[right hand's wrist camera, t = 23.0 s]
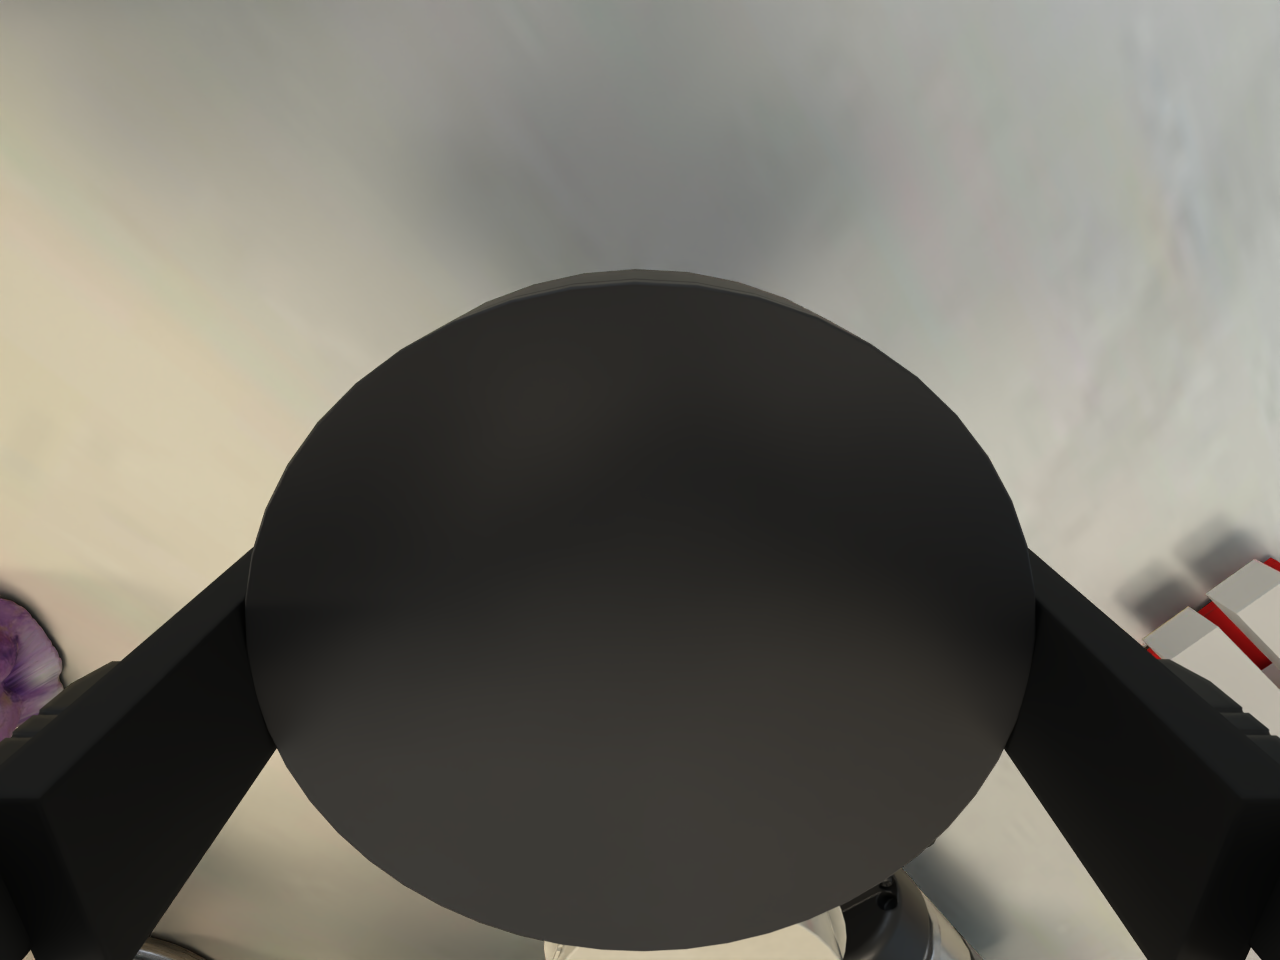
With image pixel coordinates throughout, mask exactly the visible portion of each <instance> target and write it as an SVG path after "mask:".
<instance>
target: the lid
mask: <svg viewBox="0 0 1280 960" xmlns="http://www.w3.org/2000/svg"><path fill="white" fill-rule="evenodd" d="M245 625H246V648H247V654H248V660H249V664H250V669H251V673H252V678H253V682H254V687H255V691H256V694H257V698H258V702H259V706H260V709H261V712H262V715H263V718H264V720H265V723H266V726H267V729H268V731H269V733H270V735H271V737H272V739H273V741H274V743H275V745H276V747H277V749H278V751H279V753H280V755H281V757H282V759H283V761H284V763H285V765H286V767H287V768H288V770H289V771H290V773H291V774H292V776H293V777H294V778H295V780H296V781H297V783H298V784H299V786H300V787H301V789H302V790H303V792H304V793H305V795H306V796H307V798H308V799H309V800H310V802H311V803H312V804H313V805H314V806H315V807H316V809H317V810H318V811H319V812H320V813H321V814H322V815H323V816H324V818H325V819H326V820H327V821H328V822H329V823H330V824H331V825H332V827H333V828H334V829H335V830H336V831H337V832H338V833H339V834H340V835H341V836H342V837H343V838H344V839H346V840H347V841H348V842H349V843H350V844H351V845H352V846H353V847H355V848H356V849H357V850H358V851H359V852H360V853H361V854H362V855H363V856H365V857H366V858H367V859H368V860H369V861H370V862H372V863H373V864H375V865H376V866H378V867H379V868H380V869H382V870H383V871H385V872H386V873H387V874H389V875H390V876H392V877H393V878H394V879H396V880H397V881H399V882H400V883H402V884H403V885H405V886H406V887H408V888H410V889H412V890H413V891H415V892H417V893H419V894H421V895H422V896H424V897H426V898H428V899H430V900H431V901H433V902H435V903H437V904H438V905H440V906H443V907H445V908H447V909H449V910H452V911H454V912H456V913H459V914H461V915H463V916H465V917H468V918H470V919H472V920H475V921H477V922H479V923H483V924H486V925H489V926H492V927H495V928H498V929H501V930H504V931H507V932H510V933H513V934H516V935H520V936H524V937H529V938H533V939H538V940H542V941H547V942H551V943H556V944H560V945H568V946H576V947H583V948H591V949H599V950H619V951H662V950H681V949H691V948H698V947H705V946H712V945H719V944H726V943H731V942H735V941H739V940H744V939H748V938H752V937H756V936H760V935H764V934H769V933H772V932H775V931H777V930H780V929H783V928H786V927H789V926H792V925H795V924H798V923H801V922H804V921H807V920H809V919H812V918H814V917H816V916H818V915H820V914H823V913H825V912H827V911H829V910H831V909H834V908H836V907H838V906H840V905H842V904H845V903H847V902H849V901H850V900H852V899H854V898H855V897H857V896H859V895H861V894H862V893H864V892H866V891H867V890H869V889H871V888H873V887H874V886H876V885H878V884H879V883H881V882H883V881H884V880H886V879H887V878H888V877H890V876H891V875H892V874H894V873H895V872H897V871H898V870H899V869H901V868H902V867H903V866H905V865H906V864H907V863H909V862H910V861H911V860H913V859H914V858H916V857H917V856H918V855H919V854H920V853H921V852H922V851H923V850H925V849H926V848H927V847H928V846H929V845H930V844H931V843H932V842H933V841H934V840H935V839H936V838H937V837H939V836H940V835H941V834H942V833H943V832H944V831H945V830H946V829H947V828H948V827H949V826H950V825H951V824H952V822H953V821H954V820H955V819H956V818H957V817H958V815H959V814H960V813H961V812H962V811H963V809H964V808H965V807H966V806H967V805H968V804H969V802H970V801H971V800H972V799H973V798H974V797H975V795H976V794H977V792H978V791H979V789H980V788H981V786H982V785H983V783H984V781H985V780H986V778H987V777H988V775H989V774H990V772H991V771H992V769H993V768H994V766H995V765H996V763H997V761H998V760H999V758H1000V756H1001V753H1002V751H1003V749H1004V747H1005V745H1006V743H1007V741H1008V739H1009V737H1010V734H1011V732H1012V730H1013V728H1014V726H1015V724H1016V722H1017V719H1018V715H1019V712H1020V709H1021V705H1022V701H1023V697H1024V694H1025V690H1026V686H1027V682H1028V678H1029V673H1030V668H1031V664H1032V658H1033V652H1034V645H1035V638H1036V620H1035V588H1034V582H1033V576H1032V570H1031V564H1030V558H1029V553H1028V547H1027V543H1026V540H1025V538H1024V535H1023V532H1022V529H1021V526H1020V523H1019V520H1018V517H1017V514H1016V511H1015V508H1014V505H1013V502H1012V500H1011V498H1010V496H1009V494H1008V492H1007V491H1006V489H1005V487H1004V485H1003V483H1002V481H1001V479H1000V477H999V476H998V474H997V472H996V470H995V468H994V466H993V464H992V462H991V461H990V459H989V457H988V455H987V454H986V453H985V452H984V450H983V449H982V448H981V446H980V445H979V444H978V442H977V441H976V440H975V438H974V437H973V436H972V434H971V433H970V432H969V430H968V429H967V428H966V426H965V425H964V424H963V423H962V421H961V420H960V419H959V417H958V416H957V415H956V414H955V413H954V412H953V411H952V410H951V409H950V408H949V407H948V406H947V405H946V404H945V403H944V402H943V401H942V400H941V399H940V398H939V397H938V396H937V395H936V394H934V393H933V392H932V391H931V390H930V389H929V388H928V387H927V386H926V385H925V384H924V383H923V382H922V381H921V380H920V379H919V378H918V377H917V376H915V375H914V374H912V373H911V372H910V371H908V370H907V369H905V368H904V367H903V366H901V365H900V364H898V363H897V362H896V361H894V360H893V359H891V358H890V357H888V356H887V355H886V354H884V353H883V352H881V351H880V350H879V349H877V348H876V347H874V346H873V345H872V344H870V343H868V342H866V341H865V340H863V339H861V338H859V337H858V336H856V335H854V334H852V333H850V332H849V331H847V330H845V329H843V328H842V327H840V326H838V325H836V324H834V323H833V322H831V321H829V320H827V319H825V318H823V317H821V316H819V315H817V314H815V313H813V312H811V311H809V310H807V309H806V308H804V307H802V306H800V305H798V304H796V303H794V302H792V301H790V300H788V299H786V298H783V297H780V296H777V295H774V294H771V293H769V292H766V291H763V290H760V289H757V288H754V287H751V286H748V285H745V284H742V283H739V282H736V281H730V280H725V279H720V278H715V277H710V276H705V275H700V274H694V273H689V272H676V271H658V270H641V269H632V270H620V271H607V272H595V273H584V274H579V275H574V276H570V277H565V278H561V279H556V280H552V281H547V282H543V283H538V284H534V285H531V286H528V287H526V288H523V289H520V290H518V291H515V292H512V293H510V294H507V295H504V296H502V297H499V298H496V299H494V300H491V301H488V302H486V303H484V304H482V305H480V306H479V307H477V308H475V309H473V310H471V311H469V312H467V313H466V314H464V315H462V316H460V317H458V318H456V319H455V320H453V321H451V322H449V323H447V324H445V325H444V326H442V327H440V328H438V329H436V330H435V331H433V332H431V333H429V334H428V335H426V336H424V337H422V338H420V339H419V340H417V341H415V342H413V343H412V344H410V345H408V346H406V347H404V348H403V349H401V350H400V351H398V352H397V353H396V354H394V355H393V356H392V357H390V358H389V359H388V360H386V361H385V362H384V363H382V364H381V365H380V366H378V367H377V368H376V369H374V370H373V371H372V372H370V373H369V374H368V375H366V376H365V377H364V378H362V379H361V380H360V381H358V382H357V383H356V384H355V385H354V386H353V387H352V388H351V389H350V390H349V391H348V392H347V393H346V394H345V395H344V396H343V397H342V398H341V399H340V400H339V401H338V402H337V403H336V404H335V405H334V406H333V407H332V408H331V409H330V410H329V411H328V412H327V413H326V414H325V415H324V416H323V417H322V418H321V419H320V420H319V421H318V422H317V424H316V425H315V427H314V428H313V429H312V431H311V432H310V434H309V435H308V436H307V438H306V439H305V441H304V442H303V443H302V445H301V446H300V448H299V449H298V450H297V452H296V453H295V455H294V456H293V457H292V459H291V460H290V462H289V463H288V465H287V467H286V469H285V471H284V473H283V475H282V477H281V479H280V481H279V483H278V485H277V487H276V489H275V491H274V493H273V495H272V497H271V499H270V501H269V503H268V505H267V507H266V509H265V512H264V515H263V519H262V522H261V525H260V528H259V532H258V535H257V538H256V541H255V544H254V548H253V551H252V554H251V561H250V568H249V575H248V583H247V590H246V597H245Z"/></svg>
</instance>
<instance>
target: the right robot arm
mask: <svg viewBox="0 0 1280 960" xmlns="http://www.w3.org/2000/svg"><path fill="white" fill-rule="evenodd" d="M253 548H254V547H253ZM253 548H252V549H251V550H249V551H248V552H247V553H246V554H245V555H244V556H242V557H241V558H240V559H239V560H238V561H237V562H235V563H234V564H233V565H232V566H231V567H230V568H229V569H227V570H226V571H225V572H224V573H223V574H222V575H220V576H219V577H218V578H217V579H216V580H215V581H213V582H212V583H211V584H210V585H209V586H208V587H206V588H205V589H204V590H203V591H202V592H201V593H199V594H198V595H197V596H196V597H195V598H194V599H192V600H191V601H190V602H189V603H188V604H187V605H186V606H184V607H183V608H182V609H181V610H180V611H179V612H177V613H176V614H175V615H174V616H173V617H172V618H170V619H169V620H168V621H167V622H166V623H165V624H163V625H162V626H161V627H160V628H159V629H158V630H156V631H155V632H154V633H153V634H152V635H151V636H150V637H148V638H147V639H146V640H145V641H144V642H143V643H141V644H140V645H139V646H138V647H137V648H136V649H134V650H133V651H132V652H131V653H130V654H129V655H127V656H126V657H125V658H124V659H123V660H122V661H112V662H110V663H108V664H106V665H104V666H103V667H101V668H99V669H97V670H95V671H93V672H91V673H90V674H88V675H86V676H84V677H82V678H80V679H79V680H77V681H75V682H73V683H71V684H70V685H69V686H67V687H66V688H65V689H64V690H63V691H61V692H60V693H59V694H58V695H57V696H55V697H54V698H53V699H52V700H50V701H49V702H48V703H47V704H46V705H44V706H43V707H42V708H41V709H40V710H39V714H38V715H32V716H31V717H30V718H29V719H27V720H26V721H25V722H24V723H23V724H21V725H20V726H19V727H18V728H17V729H15V730H14V731H13V732H12V737H11V738H4V739H3V740H2V741H1V742H0V960H22V959H23V958H24V957H25V956H26V955H27V953H28V952H29V951H30V950H31V951H32V953H33V955H34V958H35V960H133V959H134V957H135V956H136V954H137V953H138V951H139V950H140V948H141V947H142V946H143V944H144V943H145V941H146V940H147V938H148V937H149V935H150V934H151V932H152V931H153V929H154V928H155V926H156V925H157V923H158V922H159V921H160V919H161V918H162V916H163V915H164V913H165V912H166V910H167V909H168V907H169V906H170V904H171V903H172V901H173V900H174V898H175V897H176V896H177V894H178V893H179V891H180V890H181V888H182V887H183V885H184V884H185V882H186V881H187V879H188V878H189V876H190V875H191V873H192V872H193V871H194V869H195V868H196V866H197V865H198V863H199V862H200V860H201V859H202V857H203V856H204V854H205V853H206V851H207V850H208V848H209V847H210V846H211V844H212V843H213V841H214V840H215V838H216V837H217V835H218V834H219V832H220V831H221V829H222V828H223V826H224V825H225V823H226V822H227V821H228V819H229V818H230V816H231V815H232V813H233V812H234V810H235V809H236V807H237V806H238V804H239V803H240V801H241V800H242V798H243V797H244V796H245V794H246V793H247V791H248V790H249V788H250V787H251V785H252V784H253V782H254V781H255V779H256V778H257V776H258V775H259V773H260V772H261V771H262V769H263V768H264V766H265V765H266V763H267V762H268V760H269V759H270V757H271V756H272V754H273V753H274V751H275V750H276V749H277V747H276V745H275V743H274V741H273V739H272V737H271V735H270V733H269V731H268V729H267V726H266V723H265V720H264V718H263V715H262V712H261V709H260V706H259V702H258V698H257V694H256V691H255V687H254V682H253V678H252V673H251V669H250V664H249V660H248V654H247V648H246V625H245V597H246V590H247V583H248V575H249V568H250V561H251V554H252V551H253ZM1028 553H1029V558H1030V564H1031V570H1032V576H1033V582H1034V588H1035V620H1036V638H1035V645H1034V652H1033V658H1032V664H1031V668H1030V673H1029V678H1028V682H1027V686H1026V690H1025V694H1024V697H1023V701H1022V705H1021V709H1020V712H1019V715H1018V719H1017V722H1016V724H1015V726H1014V728H1013V730H1012V732H1011V734H1010V737H1009V739H1008V741H1007V743H1006V745H1005V747H1004V749H1005V751H1006V752H1007V754H1008V755H1009V757H1010V758H1011V760H1012V761H1013V763H1014V764H1015V765H1016V767H1017V768H1018V770H1019V771H1020V773H1021V774H1022V776H1023V777H1024V779H1025V780H1026V782H1027V783H1028V785H1029V786H1030V788H1031V789H1032V790H1033V792H1034V793H1035V795H1036V796H1037V798H1038V799H1039V801H1040V802H1041V804H1042V805H1043V807H1044V808H1045V810H1046V811H1047V813H1048V814H1049V815H1050V817H1051V818H1052V820H1053V821H1054V823H1055V824H1056V826H1057V827H1058V829H1059V830H1060V832H1061V833H1062V835H1063V836H1064V838H1065V839H1066V840H1067V842H1068V843H1069V845H1070V846H1071V848H1072V849H1073V851H1074V852H1075V854H1076V855H1077V857H1078V858H1079V860H1080V861H1081V863H1082V864H1083V865H1084V867H1085V868H1086V870H1087V871H1088V873H1089V874H1090V876H1091V877H1092V879H1093V880H1094V882H1095V883H1096V885H1097V886H1098V887H1099V889H1100V890H1101V892H1102V893H1103V895H1104V896H1105V898H1106V899H1107V901H1108V902H1109V904H1110V905H1111V907H1112V908H1113V910H1114V911H1115V912H1116V914H1117V915H1118V917H1119V918H1120V920H1121V921H1122V923H1123V924H1124V926H1125V927H1126V929H1127V930H1128V932H1129V933H1130V935H1131V936H1132V937H1133V939H1134V940H1135V942H1136V943H1137V945H1138V946H1139V948H1140V949H1141V951H1142V952H1143V954H1144V955H1145V957H1146V958H1147V960H1245V959H1246V957H1247V955H1248V953H1249V950H1250V948H1252V949H1253V950H1254V951H1255V952H1256V954H1257V955H1258V956H1259V957H1260V958H1261V960H1280V738H1279V737H1278V736H1277V735H1271V734H1270V732H1269V729H1268V728H1267V727H1266V726H1265V725H1263V724H1262V723H1261V722H1260V721H1258V720H1257V719H1256V718H1255V717H1254V716H1252V715H1251V714H1250V713H1244V712H1243V710H1242V707H1241V706H1240V705H1239V704H1238V703H1236V702H1235V701H1234V700H1233V699H1232V698H1230V697H1229V696H1228V695H1227V694H1225V693H1224V692H1223V691H1222V690H1221V689H1219V688H1218V687H1217V686H1216V685H1214V684H1213V683H1212V682H1211V681H1209V680H1207V679H1205V678H1204V677H1202V676H1200V675H1198V674H1196V673H1194V672H1192V671H1191V670H1189V669H1187V668H1185V667H1183V666H1181V665H1179V664H1178V663H1176V662H1174V661H1172V660H1170V659H1157V658H1155V657H1154V656H1153V655H1152V654H1151V653H1150V652H1148V651H1147V650H1146V649H1145V648H1144V647H1143V646H1141V645H1140V644H1139V643H1138V642H1137V641H1136V640H1134V639H1133V638H1132V637H1131V636H1130V635H1129V634H1128V633H1126V632H1125V631H1124V630H1123V629H1122V628H1121V627H1119V626H1118V625H1117V624H1116V623H1115V622H1114V621H1112V620H1111V619H1110V618H1109V617H1108V616H1107V615H1105V614H1104V613H1103V612H1102V611H1101V610H1100V609H1098V608H1097V607H1096V606H1095V605H1094V604H1093V603H1091V602H1090V601H1089V600H1088V599H1087V598H1086V597H1085V596H1083V595H1082V594H1081V593H1080V592H1079V591H1078V590H1076V589H1075V588H1074V587H1073V586H1072V585H1071V584H1069V583H1068V582H1067V581H1066V580H1065V579H1064V578H1062V577H1061V576H1060V575H1059V574H1058V573H1057V572H1055V571H1054V570H1053V569H1052V568H1051V567H1050V566H1048V565H1047V564H1046V563H1045V562H1044V561H1043V560H1042V559H1040V558H1039V557H1038V556H1037V555H1036V554H1035V553H1033V552H1032V551H1031V550H1030V549H1029V548H1028Z"/></svg>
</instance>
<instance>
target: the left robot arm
mask: <svg viewBox="0 0 1280 960" xmlns="http://www.w3.org/2000/svg"><path fill="white" fill-rule="evenodd" d="M935 840H936V839H935ZM935 840H934V841H933V842H932V843H931V844H930V845H929V846H928V847H930V846H931V845H932V844H934V842H935ZM840 907H841V910H842V914H843V917H844V920H845V926H846V936H847V938H846V948H845V954H844V957H843V960H983V958H982V957H981V956H980V955H979V954H978V953H977V952H976V951H975V950H974V949H973V948H972V946H971V945H970V944H969V943H968V942H967V941H966V940H965V939H964V938H963V937H962V935H961V934H960V933H959V932H958V931H957V930H956V929H955V928H954V927H953V926H952V925H951V923H950V922H949V921H948V920H947V919H946V918H945V917H944V915H943V914H942V913H941V912H940V911H939V910H938V909H937V908H936V907H935V905H934V904H933V903H932V902H931V901H930V900H929V899H928V898H927V896H926V895H925V894H924V893H923V892H922V891H921V890H920V889H919V888H918V887H917V885H916V884H915V882H914V881H913V880H912V879H911V878H910V877H909V876H908V874H907V873H906V872H905V871H904V870H903V869H902V868H901V869H899V870H898V871H897V872H895V873H894V874H892V875H891V876H890V877H888V878H887V879H886V880H884V881H883V882H881V883H879V884H878V885H876V886H874V887H873V888H871V889H869V890H867V891H866V892H864V893H862V894H861V895H859V896H857V897H855V898H854V899H852V900H850V901H849V902H847V903H845V904H842V905H840ZM133 960H205V959H204V958H202V957H201V956H199V955H197V954H195V953H193V952H191V951H189V950H187V949H185V948H182V947H180V946H177V945H175V944H172V943H169V942H166V941H163V940H159V939H155V938H151V937H148V938H147V940H146V941H145V943H144V944H143V946H142V947H141V948H140V950H139V951H138V953H137V954H136V956H135V957H134V959H133Z"/></svg>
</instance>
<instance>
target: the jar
mask: <svg viewBox="0 0 1280 960" xmlns="http://www.w3.org/2000/svg"><path fill="white" fill-rule="evenodd" d="M846 938H847V936H846V926H845V920H844V917H843V914H842V910H841V907H840V906H838V907H836V908H834V909H831V910H829V911H827V912H825V913H823V914H820V915H818V916H816V917H814V918H812V919H809V920H807V921H804V922H801V923H798V924H795V925H792V926H789V927H786V928H783V929H780V930H777V931H775V932H772V933H769V934H764V935H760V936H756V937H752V938H748V939H744V940H739V941H735V942H731V943H726V944H719V945H712V946H705V947H698V948H691V949H681V950H662V951H619V950H599V949H591V948H583V947H576V946H568V945H560V944H556V943H551V942H547V941H544V952H545V960H843V957H844V954H845V948H846Z"/></svg>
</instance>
